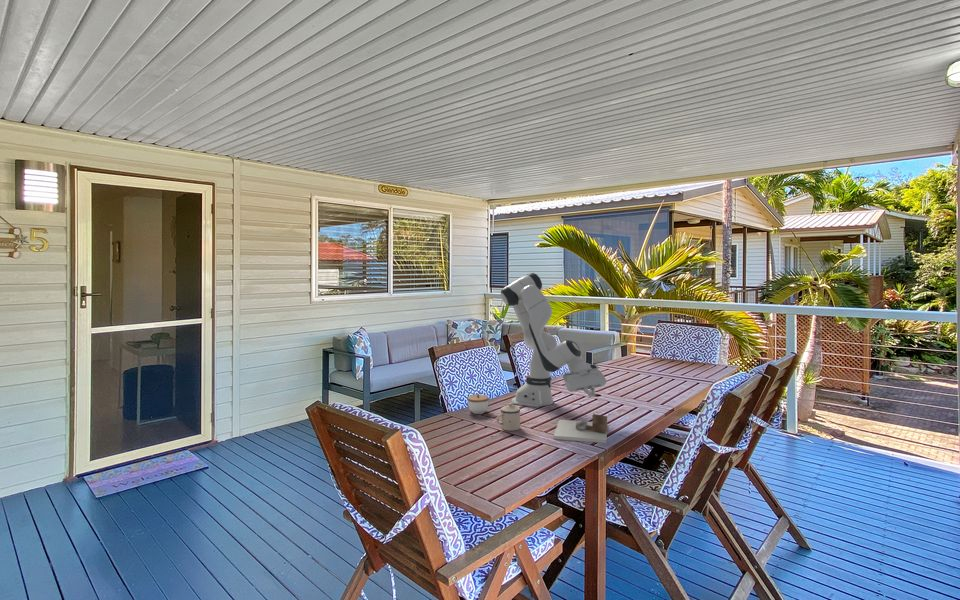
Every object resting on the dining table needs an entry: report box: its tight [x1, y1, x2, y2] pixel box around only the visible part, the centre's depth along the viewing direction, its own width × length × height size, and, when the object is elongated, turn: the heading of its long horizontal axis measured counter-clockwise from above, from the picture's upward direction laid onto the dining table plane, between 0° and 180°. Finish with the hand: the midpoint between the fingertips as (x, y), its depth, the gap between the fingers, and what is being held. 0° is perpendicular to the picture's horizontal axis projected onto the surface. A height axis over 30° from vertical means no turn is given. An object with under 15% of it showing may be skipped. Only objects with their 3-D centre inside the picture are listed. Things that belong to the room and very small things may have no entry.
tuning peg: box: [575, 413, 608, 434], centre depth 222 cm, size 14×5×7 cm, turn 56°
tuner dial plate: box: [553, 419, 608, 444], centre depth 225 cm, size 22×22×2 cm
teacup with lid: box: [496, 402, 521, 432], centre depth 231 cm, size 12×9×12 cm
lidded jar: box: [467, 393, 490, 415], centre depth 257 cm, size 11×11×9 cm
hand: (592, 396), depth 234 cm, fingers closed
